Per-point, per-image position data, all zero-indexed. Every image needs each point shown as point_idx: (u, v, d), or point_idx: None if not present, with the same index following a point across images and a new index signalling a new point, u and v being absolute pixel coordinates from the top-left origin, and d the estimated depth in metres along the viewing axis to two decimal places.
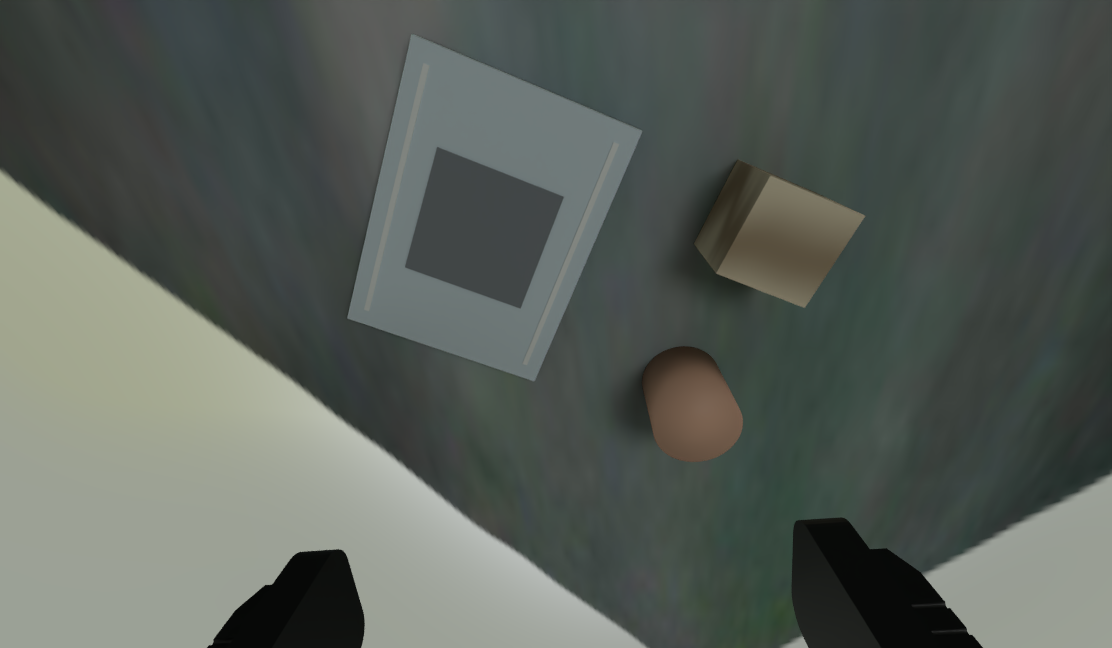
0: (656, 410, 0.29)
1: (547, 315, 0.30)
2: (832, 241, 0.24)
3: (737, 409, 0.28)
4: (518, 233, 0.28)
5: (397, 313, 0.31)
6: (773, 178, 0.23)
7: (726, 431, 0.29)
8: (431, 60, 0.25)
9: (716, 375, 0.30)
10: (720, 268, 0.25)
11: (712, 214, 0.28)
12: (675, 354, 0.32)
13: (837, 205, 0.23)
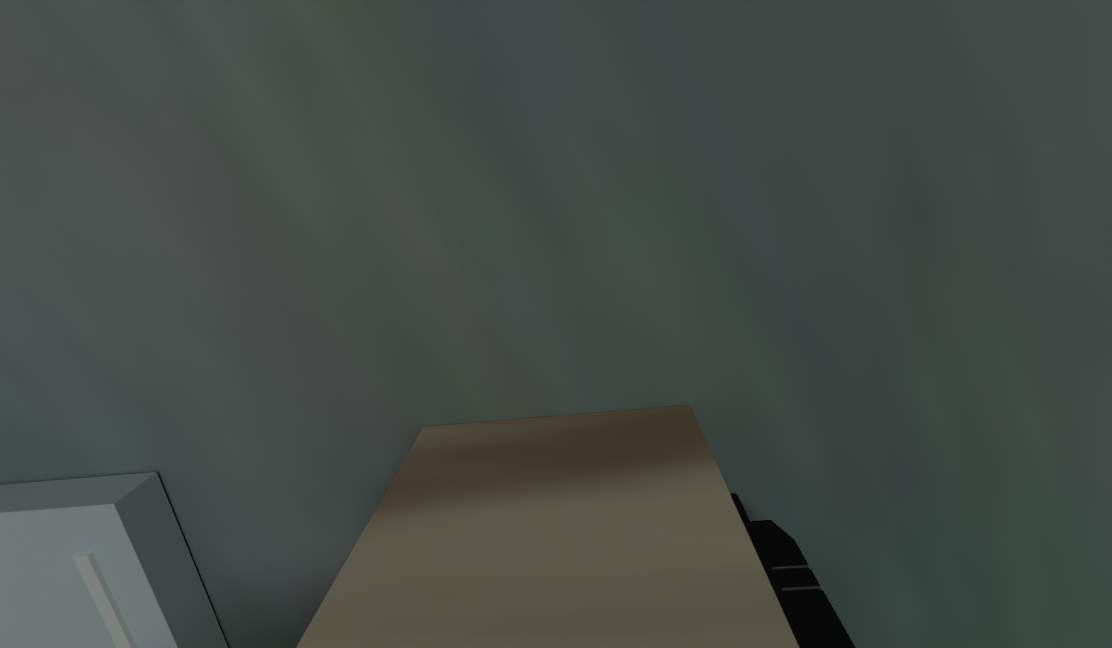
0: None
1: None
2: None
3: None
4: None
5: None
6: None
7: None
8: None
9: None
10: None
11: None
12: None
13: None
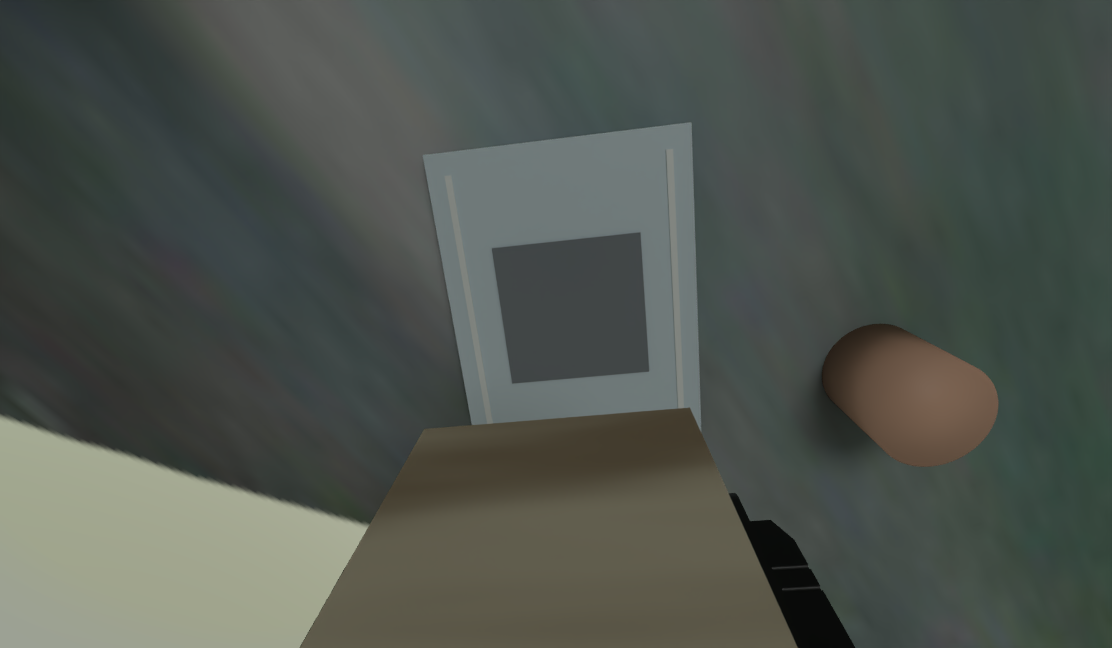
0: (871, 417, 0.22)
1: (682, 365, 0.26)
2: None
3: (977, 371, 0.21)
4: (610, 293, 0.25)
5: None
6: None
7: (976, 404, 0.22)
8: (450, 169, 0.23)
9: (920, 343, 0.23)
10: None
11: None
12: (851, 342, 0.25)
13: None
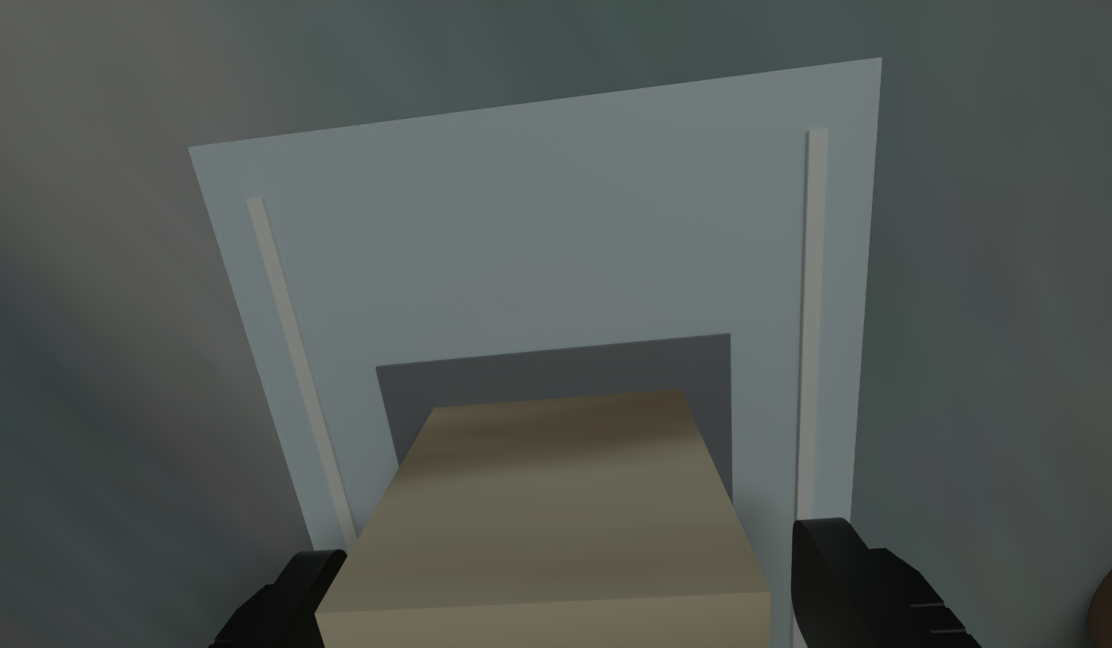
0: None
1: None
2: None
3: None
4: None
5: None
6: (330, 618, 0.06)
7: None
8: (261, 183, 0.09)
9: None
10: None
11: None
12: None
13: (632, 601, 0.06)
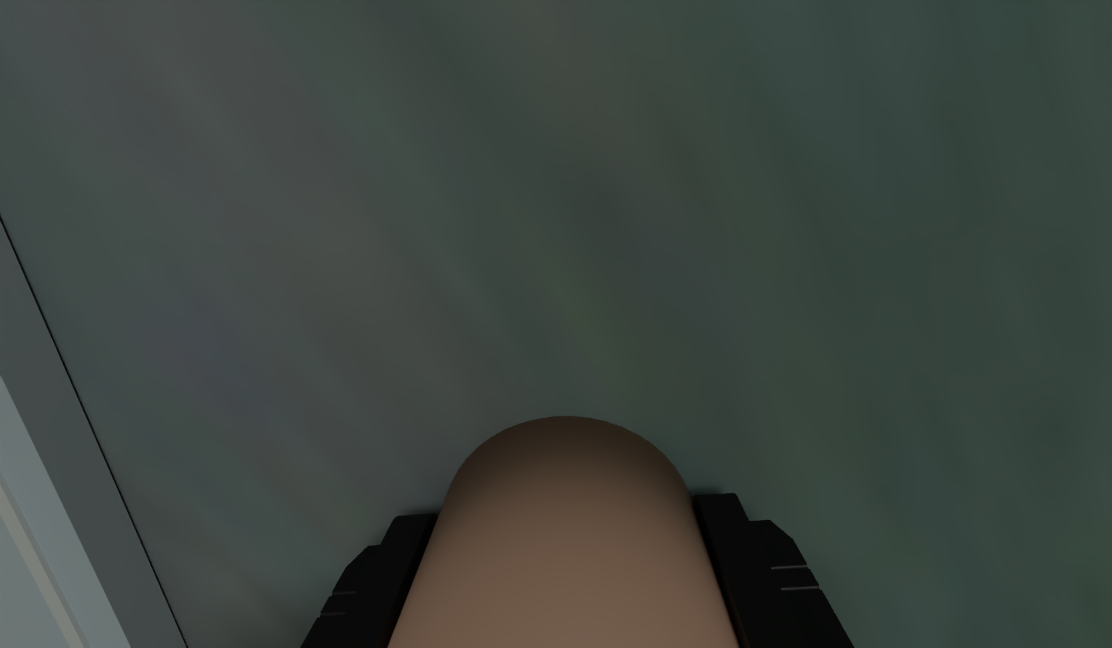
0: None
1: (24, 530, 0.09)
2: None
3: None
4: None
5: None
6: None
7: None
8: None
9: (579, 520, 0.07)
10: None
11: None
12: (467, 476, 0.09)
13: None
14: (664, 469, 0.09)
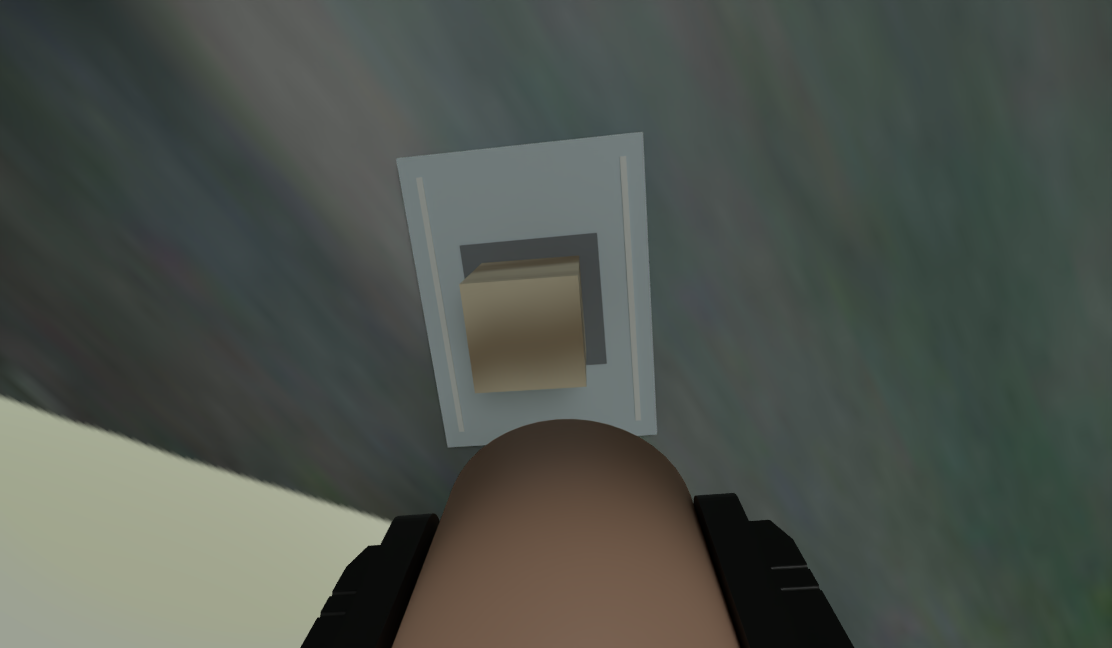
0: None
1: (637, 358, 0.27)
2: (564, 313, 0.22)
3: None
4: None
5: (491, 422, 0.29)
6: (463, 285, 0.22)
7: None
8: (421, 171, 0.25)
9: (582, 523, 0.07)
10: (475, 387, 0.23)
11: None
12: (469, 478, 0.09)
13: (543, 279, 0.21)
14: (666, 472, 0.09)
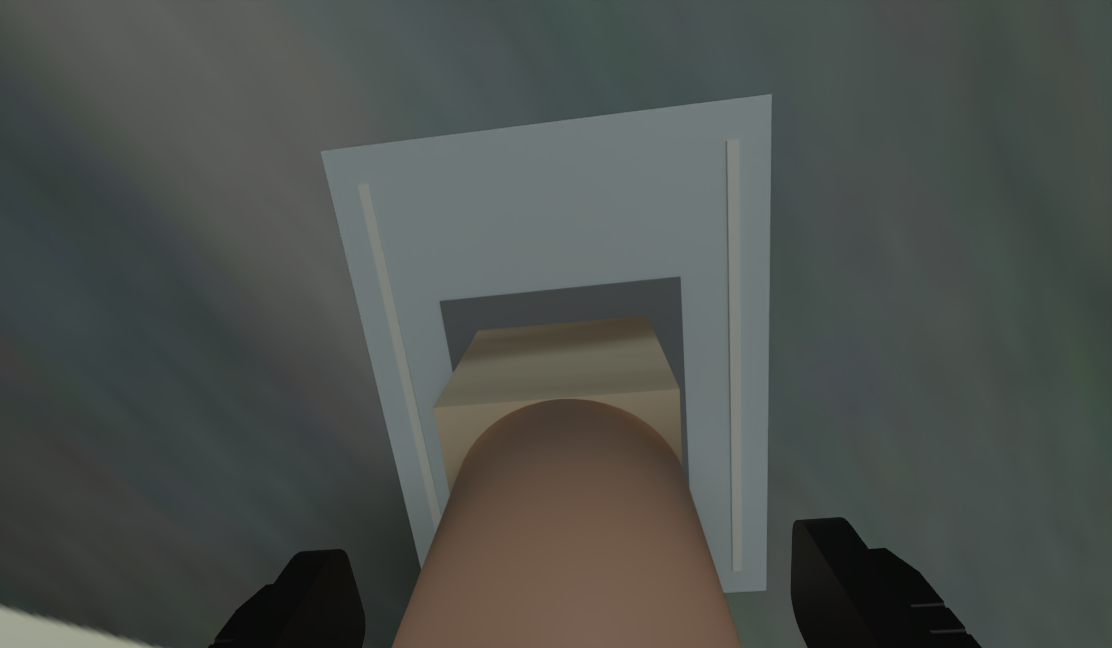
0: None
1: (741, 478, 0.16)
2: None
3: (677, 641, 0.06)
4: None
5: None
6: (441, 410, 0.10)
7: None
8: (368, 174, 0.14)
9: (581, 486, 0.08)
10: None
11: None
12: (478, 452, 0.10)
13: (606, 396, 0.10)
14: (660, 446, 0.10)
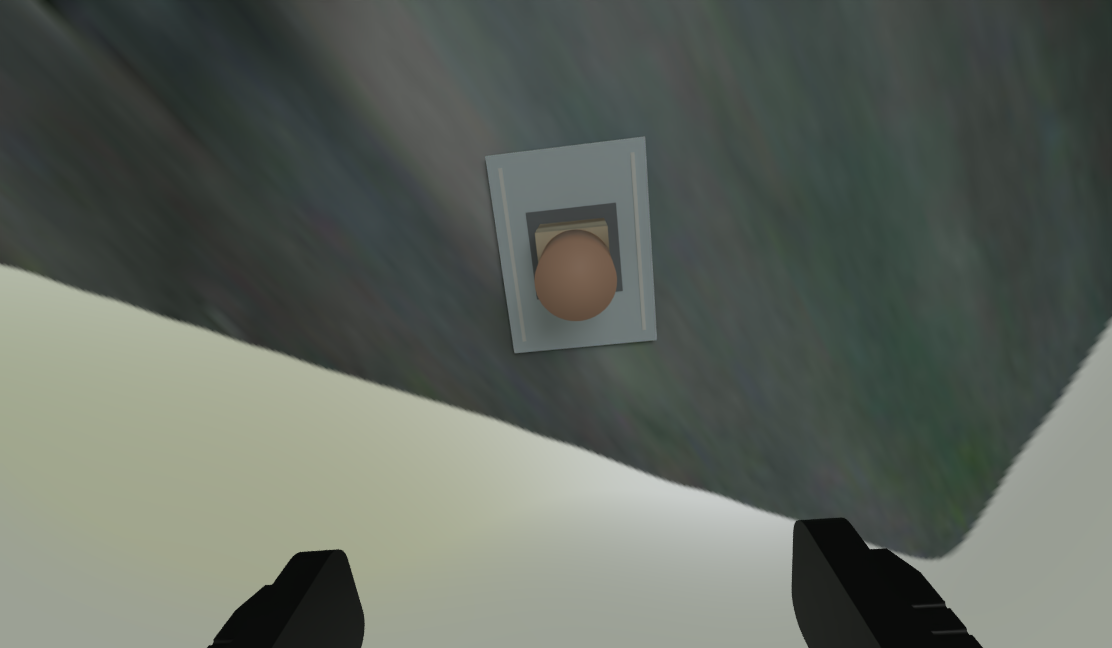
0: (535, 285, 0.32)
1: (643, 286, 0.41)
2: None
3: (596, 248, 0.30)
4: None
5: (544, 334, 0.43)
6: (537, 233, 0.35)
7: (601, 273, 0.31)
8: (501, 164, 0.39)
9: (579, 235, 0.32)
10: None
11: None
12: (549, 241, 0.34)
13: (586, 228, 0.35)
14: (601, 240, 0.35)
